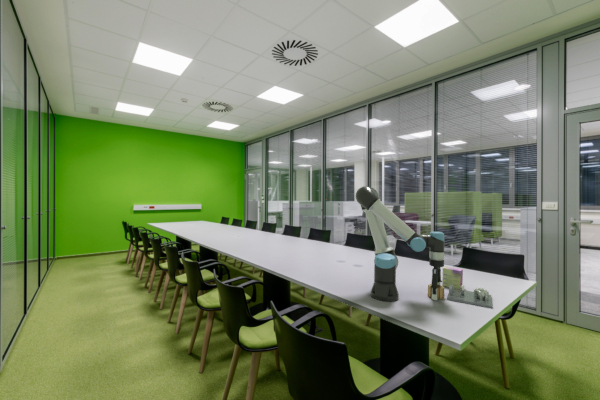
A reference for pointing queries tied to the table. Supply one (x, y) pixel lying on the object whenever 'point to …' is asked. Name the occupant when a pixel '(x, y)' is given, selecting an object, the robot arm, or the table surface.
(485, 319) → the table surface
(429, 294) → the gear
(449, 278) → the box
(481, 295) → the carrier
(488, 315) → the table surface
